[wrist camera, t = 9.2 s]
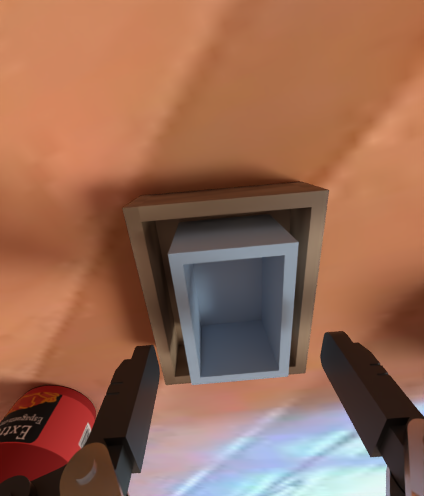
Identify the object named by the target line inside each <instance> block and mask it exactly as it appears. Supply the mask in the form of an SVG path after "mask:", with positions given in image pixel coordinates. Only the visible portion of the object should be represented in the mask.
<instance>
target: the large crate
mask: <svg viewBox="0 0 424 496" xmlns="http://www.w3.org/2000/svg"><path fill="white" fill-rule="evenodd" d="M328 194H329V190H327V189H324V188H321V187H317V186H314V185H311V184H307V183H304V182H291V183H280V184H269V185H257V186H246V187H234V188H223V189H211V190H200V191H188V192H177V193H165V194H154V195H142V196H139V197H138V198H136V199H135V200H133V201H132V202H130V203H129V204H128V205H126V206H125V207H123V208H122V209H123V213H124V217H125V221H126V225H127V229H128V233H129V237H130V241H131V246H132V250H133V254H134V258H135V262H136V266H137V270H138V274H139V278H140V282H141V286H142V290H143V294H144V298H145V303H146V307H147V311H148V315H149V319H150V323H151V327H152V331H153V335H154V339H155V343H156V347H157V351H158V355H159V359H160V364H161V368H162V372H163V376H164V380H165V384H166V385H172V384H184V383H191V378H190V372H189V367H188V362H187V356H186V351H185V345H184V340H183V334H182V329H181V323H180V318H179V312H178V307H177V301H176V296H175V291H174V285H173V280H172V274H171V269H170V263H169V258H168V252H169V249H170V247H171V244H172V241H173V238H174V235H175V233H176V230H177V227H178V224H179V222H187V221H198V220H209V219H220V218H231V217H241V216H252V215H263V214H270V215H271V216H272V217H273V218H274V219H275V220H276V221H277V222H278V223H279V224H280V225H281V226H282V227H283V228H284V229H285V230H286V231H288V232H289V233H290V234H291V235H292V236H293V237H294V238H295V239H296V240H297V241H298V242H299V244H298V257H297V270H296V283H295V296H294V309H293V322H292V335H291V348H290V360H289V373H288V375H289V374H301V373H305V372H306V364H307V356H308V349H309V341H310V333H311V326H312V318H313V310H314V302H315V295H316V287H317V279H318V272H319V264H320V256H321V248H322V241H323V233H324V225H325V218H326V210H327V202H328Z"/></svg>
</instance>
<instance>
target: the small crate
mask: <svg viewBox="0 0 424 496" xmlns="http://www.w3.org/2000/svg"><path fill="white" fill-rule="evenodd" d="M298 244H299V242H298V241H297V240H296V239H295V238H294V237H293V236H292V235H291V234H290V233H289V232H288V231H286V230H285V229H284V228H283V227H282V226H281V225H280V224H279V223H278V222H277V221H276V220H275V219H274V218H273V217H272V216H271V215H270V214H263V215H252V216H241V217H231V218H220V219H209V220H198V221H187V222H179V224H178V227H177V230H176V233H175V235H174V238H173V241H172V244H171V247H170V249H169V252H168V258H169V263H170V269H171V274H172V280H173V285H174V291H175V296H176V301H177V307H178V312H179V318H180V323H181V329H182V334H183V340H184V345H185V351H186V356H187V362H188V367H189V372H190V378H191V383H192V385H197V384H208V383H219V382H230V381H242V380H253V379H264V378H275V377H287V376H288V373H289V360H290V348H291V335H292V322H293V309H294V296H295V283H296V270H297V257H298Z"/></svg>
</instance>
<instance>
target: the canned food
mask: <svg viewBox="0 0 424 496" xmlns="http://www.w3.org/2000/svg"><path fill="white" fill-rule="evenodd" d="M95 419H96V411H95V407H94V406H93V404H92V403H91V401H90V400H89V399H88V398H87V397H85V396H84V395H83V394H81V393H79V392H77V391H75V390H72V389H70V388H66V387H62V386H41V387H37V388H34V389H32V390H30V391H28V392H27V393H26V394H25V395H23V396H22V397H21V398H20V399H19V400H18V401H17V402H16V403H15V404H14V406H13V407H12V408H11V410H10V411H9V412H8V413H7V415H6V416H5V417H4V419H3V420H2V421H1V423H0V483H2V482H3V481H5V480H7V479H8V478H11V477H13V476H17V475H22V476H25V477H27V478H28V479H29V481H32V480H35V479H37V478H39V477H41V476H43V475H45V474H48V473H50V472H52V471H54V470H56V469H59V468H60V467H62V466H64V465H65V464H67V463H68V462H69V460H70V459H71V458H72V457H73V455H74V454H75V453H76V452H77V451H79V450H80V449H81V448H83V446H84V445H85V443H86V441H87V439H88V437H89V435H90V432H91V430H92V427H93V425H94V422H95Z"/></svg>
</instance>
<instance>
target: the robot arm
mask: <svg viewBox="0 0 424 496" xmlns="http://www.w3.org/2000/svg"><path fill="white" fill-rule="evenodd" d="M320 358H321V363H322V367H323V369H324V371H325V373H326V375H327V377H328V379H329V380H330V382H331V384H332V386H333V388H334V390H335V392H336V393H337V395H338V397H339V399H340V401H341V403H342V405H343V407H344V408H345V410H346V412H347V414H348V416H349V418H350V420H351V421H352V423H353V425H354V427H355V429H356V431H357V433H358V434H359V436H360V438H361V440H362V442H363V444H364V446H365V448H366V449H367V451H368V453H369V455H370V457H380V456H382V457H383V459H384V460H385V462H386V464H387V469H386V496H424V416H423V415H422V414H421V413H420V412H419V410H418V409H417V408H416V407H415V406H414V404H413V403H412V402H411V401H410V399H409V398H408V397H407V396H406V395H405V393H404V392H403V391H402V390H401V388H400V387H399V386H398V385H397V383H396V382H395V381H394V380H393V379H392V377H391V376H390V375H388V372H387V371H386V370H385V369H384V368H383V366H381V365H380V363H379V361H378V360H377V359H376V358H375V356H374V355H373V354H372V353H371V352H370V351H369V350H368V349H366V348H365V347H364V346H362V345H361V344H359V343H353V342H352V341H351V339H350V338H349V337H348V335H347V334H346V333H345V332H343V331H338V332H326V333H325V334H324V338H323V344H322V350H321V356H320ZM159 375H160V371H159V364H158V360H157V356H156V352H155V348H154V346H153V345H146V346H137V347H136V348H135V350H134V353H133V356H132V358H131V359H127V360H124V361H123V362H122V363H121V364H120V366H119V367H118V368H117V369H116V370H115V373H114V375H113V378H112V380H111V384H110V385H109V388H108V390H107V393H106V396H105V398H104V400H103V403H102V405H101V408H100V410H99V412H98V415H97V417H96V420H95V422H94V425H93V427H92V430H91V432H90V435H89V437H88V439H87V441H86V443H85V445H84V446H83V448H81V449H80V450H79V451H77V452H76V453H75V454H74V455H73V457H72V458H71V459H70V460H69V462H68V463H67V464H65V465H64V466H62V467H60V468H59V469H56V470H54V471H52V472H50V473H48V474H45V475H43V476H41V477H39V478H37V479H35V480H32V481H29V479H28V478H27V477H25V476H22V475H17V476H13V477H11V478H8V479H7V480H5V481H3V482H2V483H0V496H129V493H128V487H129V482H130V478H131V473H141V469H142V464H143V459H144V454H145V449H146V444H147V439H148V434H149V429H150V424H151V419H152V414H153V409H154V404H155V399H156V394H157V389H158V384H159Z"/></svg>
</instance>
